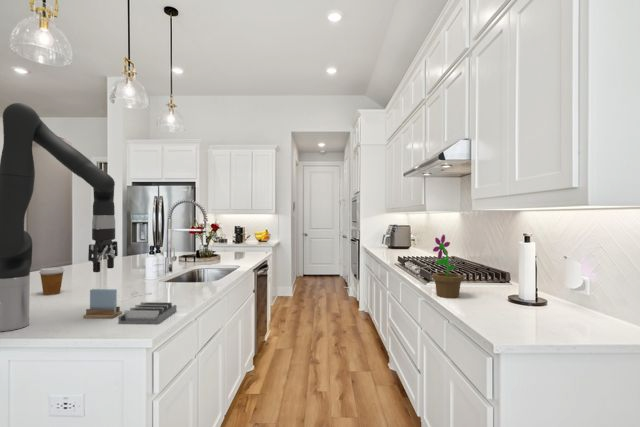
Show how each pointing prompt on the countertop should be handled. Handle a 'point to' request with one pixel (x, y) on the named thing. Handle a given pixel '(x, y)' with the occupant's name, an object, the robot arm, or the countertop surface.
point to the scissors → (134, 296)
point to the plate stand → (102, 313)
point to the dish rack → (147, 313)
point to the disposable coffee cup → (51, 280)
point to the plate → (103, 299)
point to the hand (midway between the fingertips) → (103, 270)
